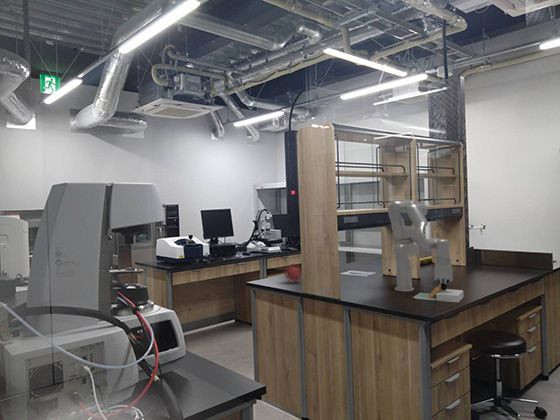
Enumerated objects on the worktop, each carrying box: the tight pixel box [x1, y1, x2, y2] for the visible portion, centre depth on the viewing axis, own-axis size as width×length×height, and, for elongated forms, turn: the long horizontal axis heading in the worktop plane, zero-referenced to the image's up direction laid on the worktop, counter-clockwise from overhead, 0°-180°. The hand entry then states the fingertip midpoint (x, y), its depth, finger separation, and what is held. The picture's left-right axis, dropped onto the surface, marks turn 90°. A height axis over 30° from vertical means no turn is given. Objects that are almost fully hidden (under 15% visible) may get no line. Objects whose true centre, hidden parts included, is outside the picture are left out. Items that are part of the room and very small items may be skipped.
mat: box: [412, 292, 437, 301], centre depth 255 cm, size 16×13×1 cm
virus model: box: [284, 263, 302, 283], centre depth 316 cm, size 15×15×15 cm
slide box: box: [428, 284, 442, 298], centre depth 252 cm, size 10×7×2 cm
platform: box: [435, 288, 465, 303], centre depth 247 cm, size 16×12×4 cm
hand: (443, 290), depth 249 cm, fingers closed
